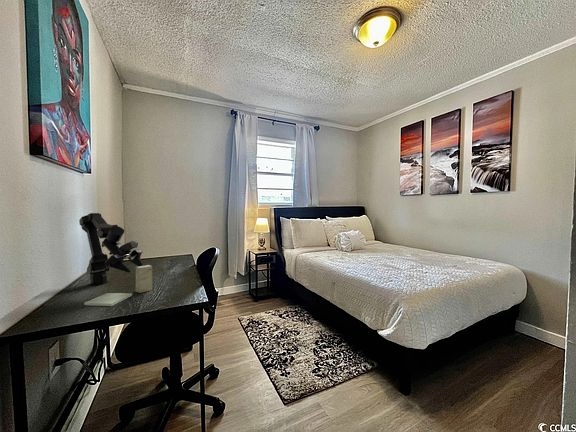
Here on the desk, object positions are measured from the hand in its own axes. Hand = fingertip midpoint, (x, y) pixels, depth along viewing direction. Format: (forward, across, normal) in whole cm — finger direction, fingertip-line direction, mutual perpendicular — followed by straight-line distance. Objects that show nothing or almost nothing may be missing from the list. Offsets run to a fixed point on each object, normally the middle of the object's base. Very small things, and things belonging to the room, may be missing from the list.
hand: (136, 269), depth 118 cm
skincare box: (+10, 0, +5) cm, 11 cm away
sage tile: (+5, -13, +10) cm, 17 cm away
